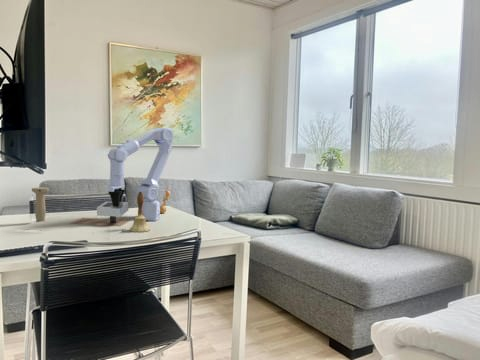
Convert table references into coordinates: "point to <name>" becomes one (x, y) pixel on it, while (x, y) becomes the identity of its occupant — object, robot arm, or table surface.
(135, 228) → the hand bell
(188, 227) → the table surface
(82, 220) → the brown board
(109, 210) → the grey square frame
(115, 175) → the robot arm
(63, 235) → the table surface
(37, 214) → the handle
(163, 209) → the figurine
